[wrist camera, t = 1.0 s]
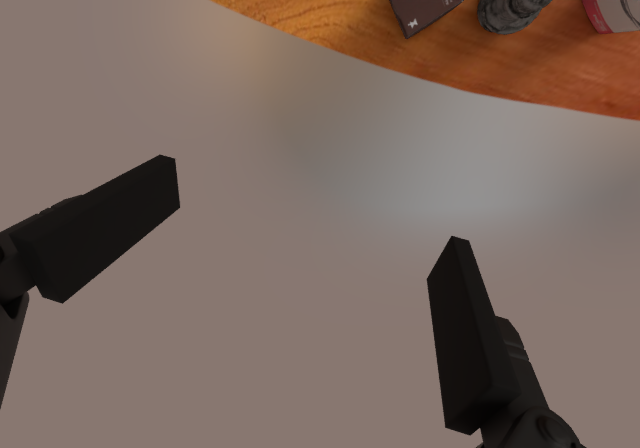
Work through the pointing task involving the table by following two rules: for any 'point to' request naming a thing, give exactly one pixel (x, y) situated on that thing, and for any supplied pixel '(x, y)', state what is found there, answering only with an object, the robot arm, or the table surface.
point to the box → (420, 13)
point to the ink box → (613, 15)
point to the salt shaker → (508, 14)
